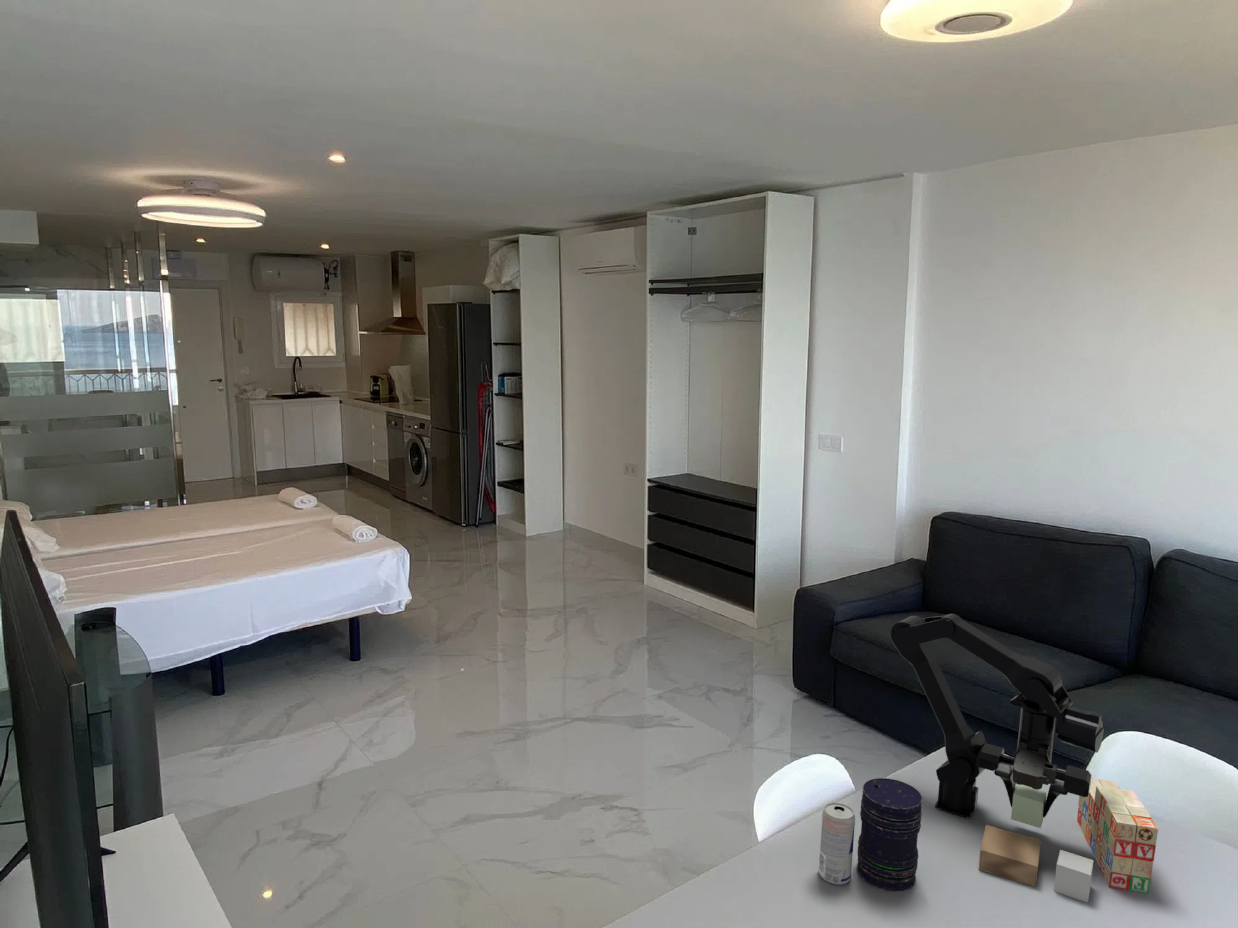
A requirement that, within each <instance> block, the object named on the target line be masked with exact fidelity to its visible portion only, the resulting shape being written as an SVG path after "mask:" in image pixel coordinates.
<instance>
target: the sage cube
mask: <svg viewBox="0 0 1238 928" xmlns="http://www.w3.org/2000/svg"><path fill="white" fill-rule="evenodd" d="M1047 792H1048V791H1046V790H1043V789H1039V790H1036V789H1033V788H1032V787H1029V786H1025V785H1019V784H1016V789H1015V791H1014V794H1013V804H1012V807H1011V815H1010V820H1013V821H1015V822H1019V823H1022V824H1025V825H1029V826H1032V827H1035V828H1038V829H1042V825H1043V822H1044V819H1045V817H1043V809H1044V806H1045V802H1046V798H1047V795H1048V793H1047Z"/></svg>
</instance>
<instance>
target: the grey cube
mask: <svg viewBox="0 0 1238 928" xmlns="http://www.w3.org/2000/svg"><path fill="white" fill-rule="evenodd" d="M1055 867H1056V869H1055V878H1054V888H1053V892H1056V893H1059V894H1061V895H1064V896H1067V897H1071V898H1073V899H1076V900H1079V901H1081V902H1084V903H1088V902H1089V898H1090V893H1091V888H1092V886H1091V885H1092V878H1093V869H1094V868H1093V867H1094V860H1093V859H1090V858H1089V857H1084V856H1081V855H1078V854H1075V853H1072V852H1068V851H1066V850H1062V849H1059V854H1058V857H1057V861H1056V866H1055Z"/></svg>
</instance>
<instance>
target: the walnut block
mask: <svg viewBox="0 0 1238 928" xmlns="http://www.w3.org/2000/svg"><path fill="white" fill-rule="evenodd" d="M983 832H984V833H983V836H982V841H981V846H980V850H979V858H978V861H979V862H978V870H980V871H983V872H987V873H989V874H993V875H996V876H1000V877H1003V878H1006V879H1009V880H1013V881H1016V882H1018V883H1019V882H1020V883H1022V884H1026V885H1029V886H1032V887H1037V879H1038V869H1039V862H1040V861H1039V860H1040V849H1041V839H1038V838H1034V837H1031V836H1026V835H1024V834H1020V833H1017V832H1014V831H1009V830H1005V829H1004V828H999V827H995V826H992V825H988V824H985V828H984V831H983Z"/></svg>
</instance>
